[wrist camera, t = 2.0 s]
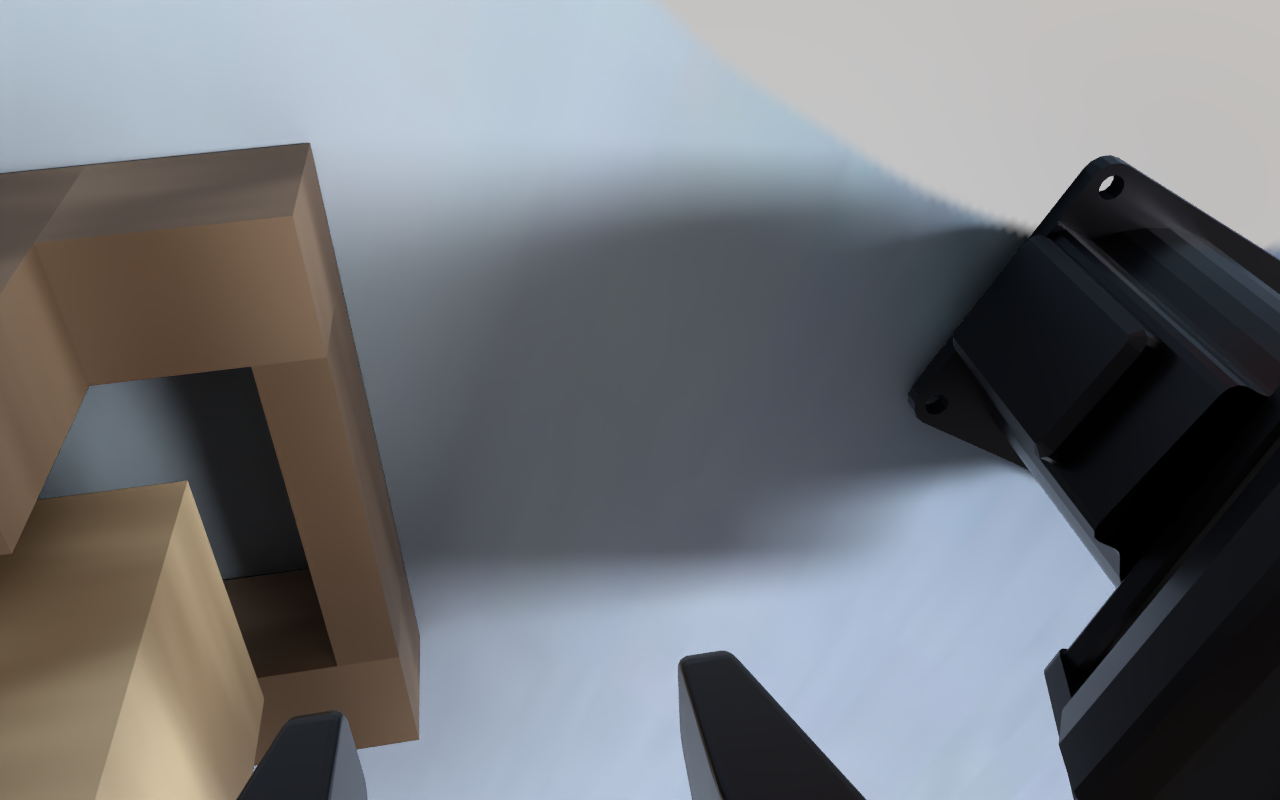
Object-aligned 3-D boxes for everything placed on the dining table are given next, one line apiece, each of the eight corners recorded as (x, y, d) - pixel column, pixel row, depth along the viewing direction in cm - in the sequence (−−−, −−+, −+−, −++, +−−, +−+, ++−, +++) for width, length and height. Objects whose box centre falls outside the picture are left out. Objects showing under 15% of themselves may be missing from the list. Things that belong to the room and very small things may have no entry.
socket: (309, 143, 19) (259, 354, 13) (419, 636, 26) (417, 917, 20) (-399, 213, 18) (-791, 478, 12) (-89, 710, 25) (-246, 1031, 19)
